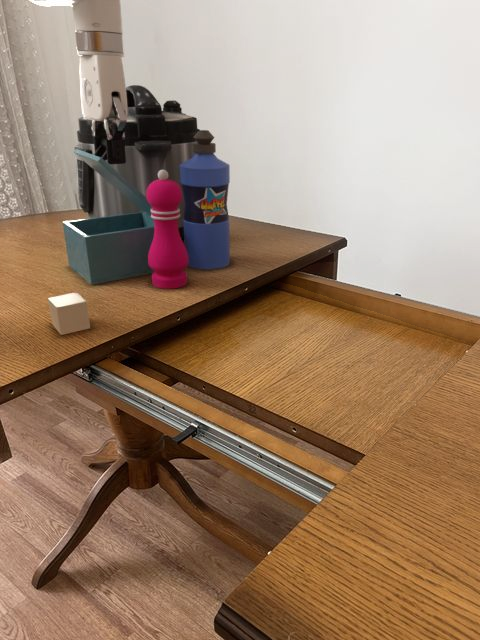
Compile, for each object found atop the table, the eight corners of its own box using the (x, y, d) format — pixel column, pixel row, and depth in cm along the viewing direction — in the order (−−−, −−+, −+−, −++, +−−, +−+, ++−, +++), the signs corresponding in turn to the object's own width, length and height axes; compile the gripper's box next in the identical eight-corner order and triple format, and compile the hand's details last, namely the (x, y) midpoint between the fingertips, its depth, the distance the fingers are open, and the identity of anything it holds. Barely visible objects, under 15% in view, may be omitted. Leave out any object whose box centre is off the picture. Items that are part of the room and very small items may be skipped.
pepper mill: (195, 278, 102) (191, 167, 93) (180, 292, 96) (173, 174, 87) (160, 274, 104) (152, 165, 94) (142, 287, 97) (132, 171, 88)
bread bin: (91, 285, 98) (84, 237, 94) (69, 266, 107) (62, 221, 103) (174, 269, 107) (171, 224, 103) (147, 252, 116) (143, 211, 112)
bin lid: (98, 161, 90) (117, 135, 91) (73, 152, 100) (90, 128, 100) (170, 223, 102) (186, 200, 103) (142, 210, 112) (157, 189, 112)
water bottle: (237, 265, 109) (237, 132, 98) (194, 272, 105) (188, 133, 94) (219, 253, 117) (217, 127, 105) (178, 258, 113) (171, 128, 101)
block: (61, 335, 80) (56, 307, 78) (52, 324, 83) (47, 297, 81) (90, 328, 82) (86, 301, 80) (80, 318, 85) (76, 292, 83)
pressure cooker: (118, 213, 147) (104, 82, 132) (219, 220, 142) (217, 85, 127) (60, 244, 120) (34, 85, 106) (181, 254, 116) (172, 88, 101)
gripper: (61, 46, 94) (74, 156, 102) (96, 43, 82) (108, 169, 90) (103, 48, 98) (112, 155, 106) (143, 46, 86) (150, 166, 94)
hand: (110, 160), depth 98 cm, fingers closed on bin lid, 5 cm apart
